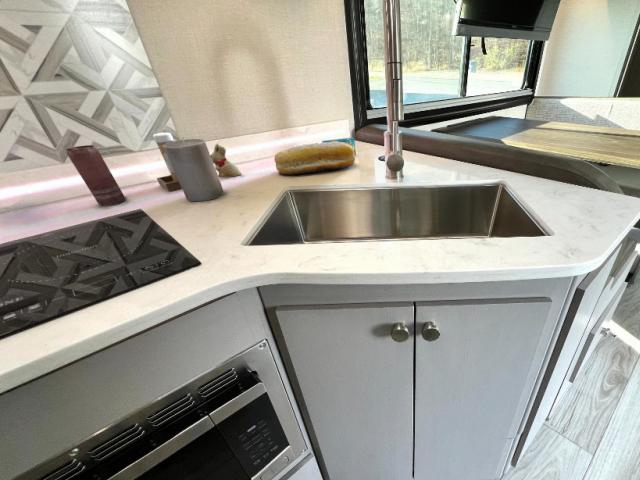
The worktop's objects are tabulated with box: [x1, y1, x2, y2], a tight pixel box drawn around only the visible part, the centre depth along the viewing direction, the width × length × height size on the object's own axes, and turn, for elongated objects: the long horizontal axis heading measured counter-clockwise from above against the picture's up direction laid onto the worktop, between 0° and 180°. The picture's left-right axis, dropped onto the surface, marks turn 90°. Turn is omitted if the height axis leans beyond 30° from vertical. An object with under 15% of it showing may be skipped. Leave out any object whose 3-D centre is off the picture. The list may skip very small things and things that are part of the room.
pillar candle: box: [162, 136, 225, 202], centre depth 84 cm, size 10×10×15 cm
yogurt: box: [321, 136, 357, 156], centre depth 118 cm, size 12×2×6 cm, turn 112°
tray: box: [156, 174, 182, 193], centre depth 97 cm, size 11×9×2 cm
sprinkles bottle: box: [152, 132, 178, 182], centre depth 93 cm, size 5×5×13 cm
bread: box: [274, 142, 356, 176], centre depth 105 cm, size 13×26×8 cm, turn 111°
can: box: [66, 144, 126, 207], centre depth 82 cm, size 6×6×14 cm
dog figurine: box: [210, 142, 243, 178], centre depth 102 cm, size 6×8×10 cm
